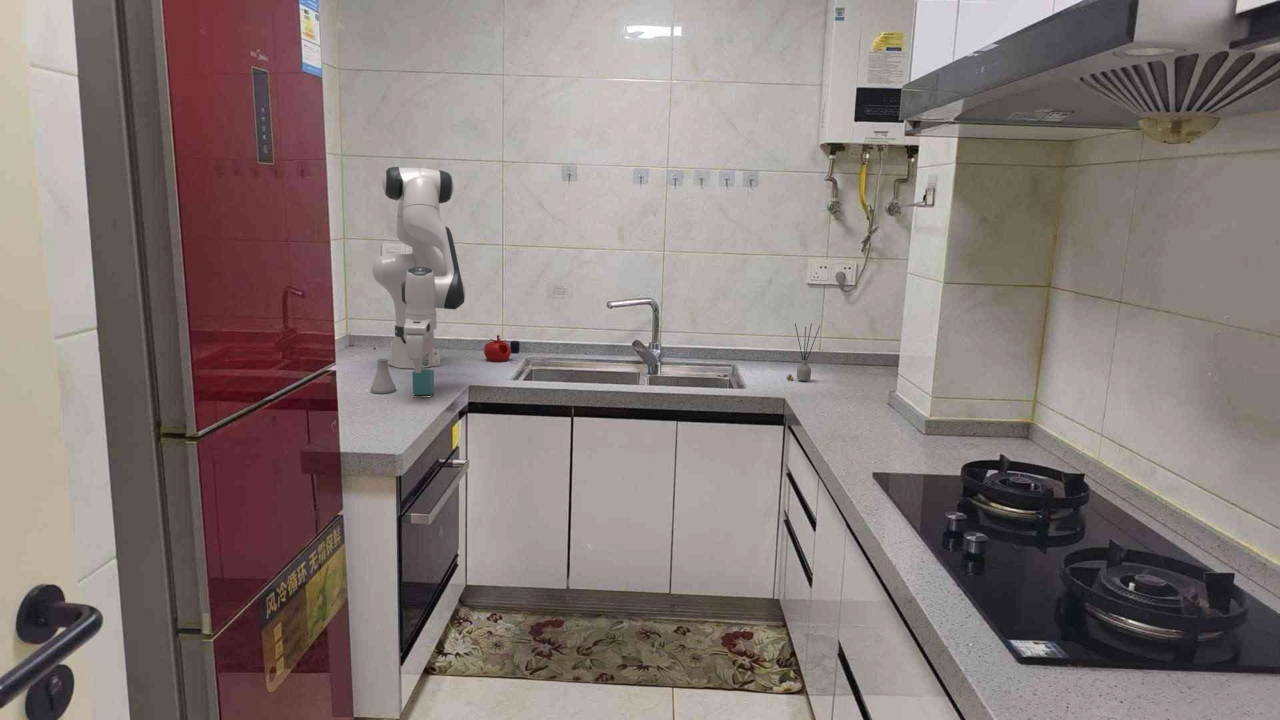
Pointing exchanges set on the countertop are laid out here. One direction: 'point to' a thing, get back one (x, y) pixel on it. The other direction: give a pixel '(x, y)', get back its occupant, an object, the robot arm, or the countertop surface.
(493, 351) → the hollow red tomato
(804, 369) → the reed diffuser
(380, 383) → the flask
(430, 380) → the teal upright block
